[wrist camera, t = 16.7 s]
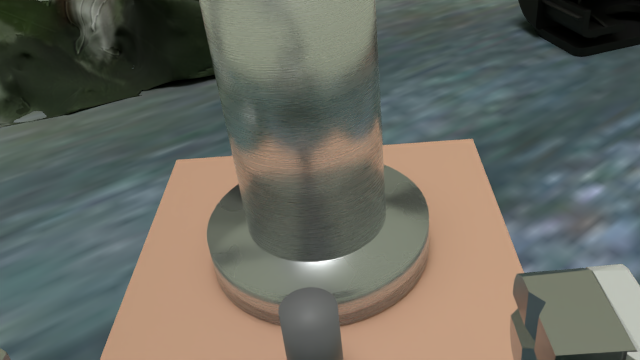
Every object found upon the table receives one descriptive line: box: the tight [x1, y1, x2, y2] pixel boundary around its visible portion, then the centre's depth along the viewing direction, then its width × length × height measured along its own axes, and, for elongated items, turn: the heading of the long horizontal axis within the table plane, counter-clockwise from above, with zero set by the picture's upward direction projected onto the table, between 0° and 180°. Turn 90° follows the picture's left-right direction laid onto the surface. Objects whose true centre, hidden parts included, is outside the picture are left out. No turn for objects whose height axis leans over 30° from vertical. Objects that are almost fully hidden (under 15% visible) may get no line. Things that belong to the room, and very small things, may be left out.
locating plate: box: [100, 139, 524, 360], centre depth 22 cm, size 14×14×4 cm
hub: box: [199, 0, 429, 325], centre depth 19 cm, size 8×8×12 cm
